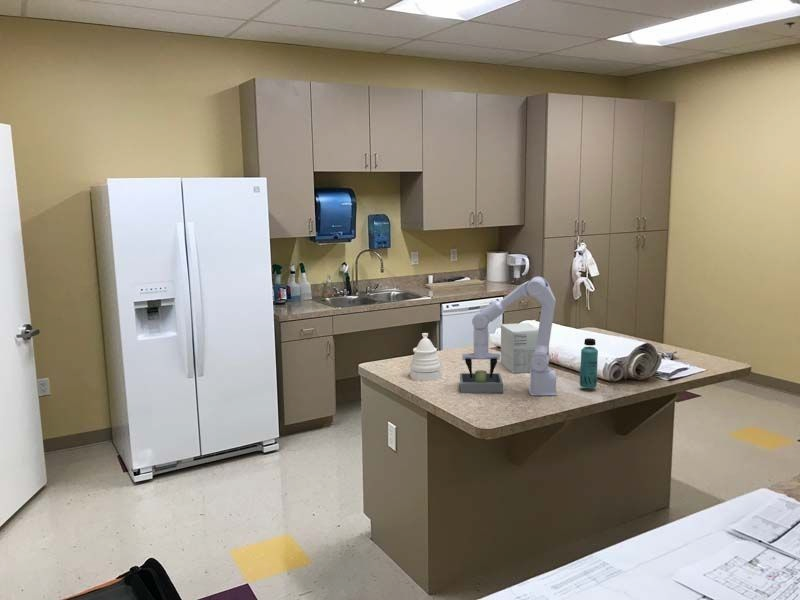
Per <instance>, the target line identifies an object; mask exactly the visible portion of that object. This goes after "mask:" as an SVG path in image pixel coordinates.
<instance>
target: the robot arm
mask: <svg viewBox="0 0 800 600" xmlns="http://www.w3.org/2000/svg"><path fill="white" fill-rule="evenodd" d="M529 295H530V296H531V297H533V298H535V299H536V300H537V301H538V302H539V303H540V304H541V310H540V311H541V312H540V317H539V324H538V329H539V330H538V337H537V344H536V349H535V353H534V357H533V358H532V360H531V367H532V368H531V372H530V382H529V383H530V387H528V389H527V390H528V392H529V394H530V396H557V374H556V370H555V369H551V368H550V367H549V364H550V362H551V361H550V360H551V356H550V352H549V351H550V340H551V336H552V327H553V320H554V314H555V307H556V296H555V295H554V293H553V290H552V289H551V286H550V284H549V282H548V281H547V280H546V279H545V278H544V277H542V276H534V277H532V278H531V279H530V280H527V281H526V282H524V283H522V284H519V286H517V287H516V288H515V289H513V290H512V291H511V292H510V293H508V294H507V295H506V296H505V297H504V298H502V299H501V300H497V299H495V300H494V301H493V300H491V301H490V302H489V303H488V304H489V305H487V306H485V308H481V309H480V310H479V311H478V312H477V314H475V315H474V316H473V317H472V321H471V324H472V326H473V353H472V352H471V353H462V354H461V355H462V357H461V359H462V361H465V365H466V367H467V369H468V373H470V378H472V373H473V371H472V370H473V369H472V368H473V366H472V365H473V360H489V363H490V364H489V365H490V367H489V368H490V369H489V373H490V378H492V375H493V373H494V370H495V368H496V366H497V363H498V361H501V353H493V352H489V323H492V322H493V321H495V320H496V319H497V318H499V317H500V316H501V315H503V314H504V313H505V311H506V307H508V306H509V305H511V304H512V303H514V302H515V301H517V300H518V299H519V298H521V297H528V296H529Z"/></svg>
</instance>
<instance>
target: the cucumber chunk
mask: <svg viewBox="0 0 800 600" xmlns="http://www.w3.org/2000/svg"><path fill="white" fill-rule="evenodd" d="M474 373H475V383H487V373H488V372H487V370H481V369H479V370H478V369H477V370H475V371H474Z"/></svg>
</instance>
